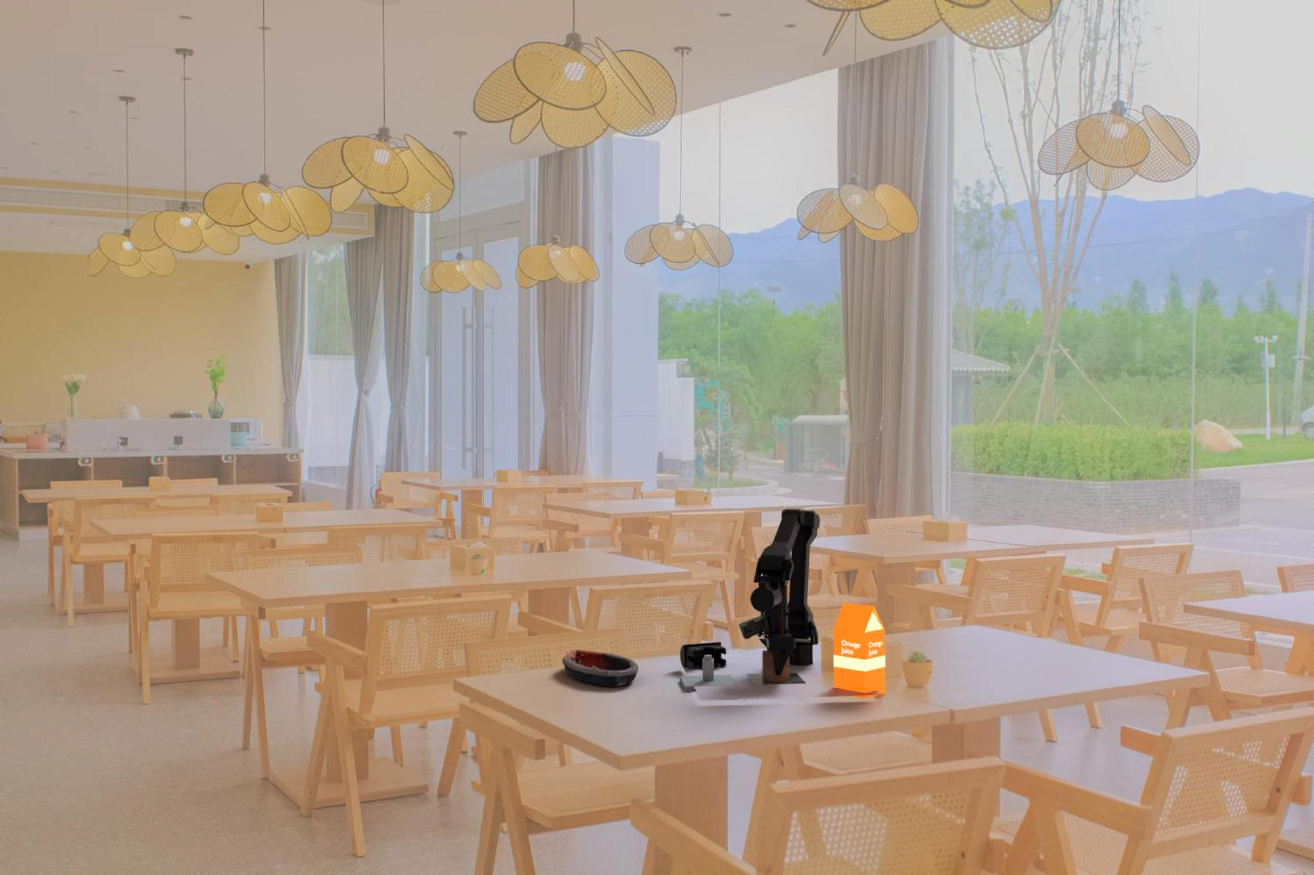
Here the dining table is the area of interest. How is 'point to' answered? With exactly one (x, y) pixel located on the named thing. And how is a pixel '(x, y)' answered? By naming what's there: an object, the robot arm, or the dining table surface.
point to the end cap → (702, 654)
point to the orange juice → (859, 650)
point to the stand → (759, 680)
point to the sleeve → (773, 668)
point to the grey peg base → (706, 677)
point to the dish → (600, 668)
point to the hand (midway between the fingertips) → (775, 672)
